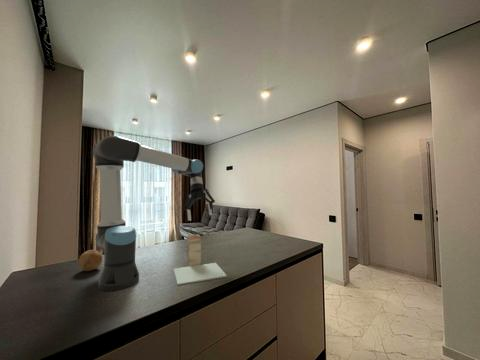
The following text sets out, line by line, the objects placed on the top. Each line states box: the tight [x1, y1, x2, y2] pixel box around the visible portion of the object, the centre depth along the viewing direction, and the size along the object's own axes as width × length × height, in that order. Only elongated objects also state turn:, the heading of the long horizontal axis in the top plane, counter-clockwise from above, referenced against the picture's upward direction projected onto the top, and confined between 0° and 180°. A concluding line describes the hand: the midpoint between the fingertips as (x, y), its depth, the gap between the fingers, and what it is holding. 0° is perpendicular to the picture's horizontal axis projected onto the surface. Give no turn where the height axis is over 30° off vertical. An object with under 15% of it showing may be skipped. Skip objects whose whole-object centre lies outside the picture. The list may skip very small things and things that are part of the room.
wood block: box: [187, 234, 202, 267], centre depth 111 cm, size 6×6×15 cm
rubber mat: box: [173, 262, 228, 286], centre depth 98 cm, size 18×22×1 cm
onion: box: [77, 249, 103, 272], centre depth 102 cm, size 10×10×10 cm
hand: (200, 217), depth 119 cm, fingers open, 13 cm apart
